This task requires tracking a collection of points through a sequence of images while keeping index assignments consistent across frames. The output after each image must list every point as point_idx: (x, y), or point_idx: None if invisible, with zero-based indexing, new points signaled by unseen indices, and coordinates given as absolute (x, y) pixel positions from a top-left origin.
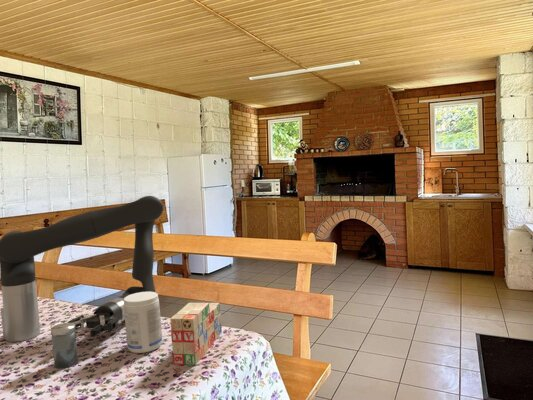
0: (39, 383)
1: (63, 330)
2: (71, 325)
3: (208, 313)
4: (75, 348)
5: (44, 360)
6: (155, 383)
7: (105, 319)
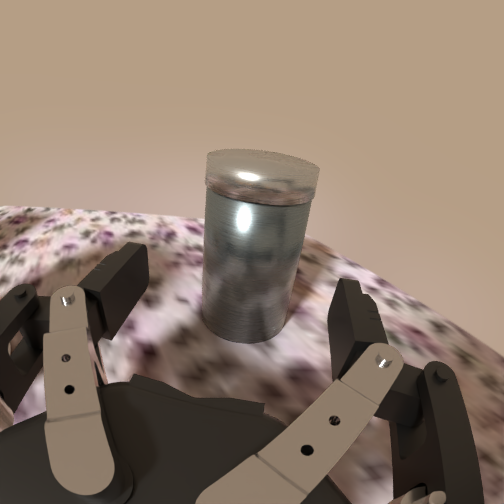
0: None
1: (234, 150)
2: (226, 158)
3: None
4: (203, 259)
5: None
6: (15, 222)
7: (46, 414)
